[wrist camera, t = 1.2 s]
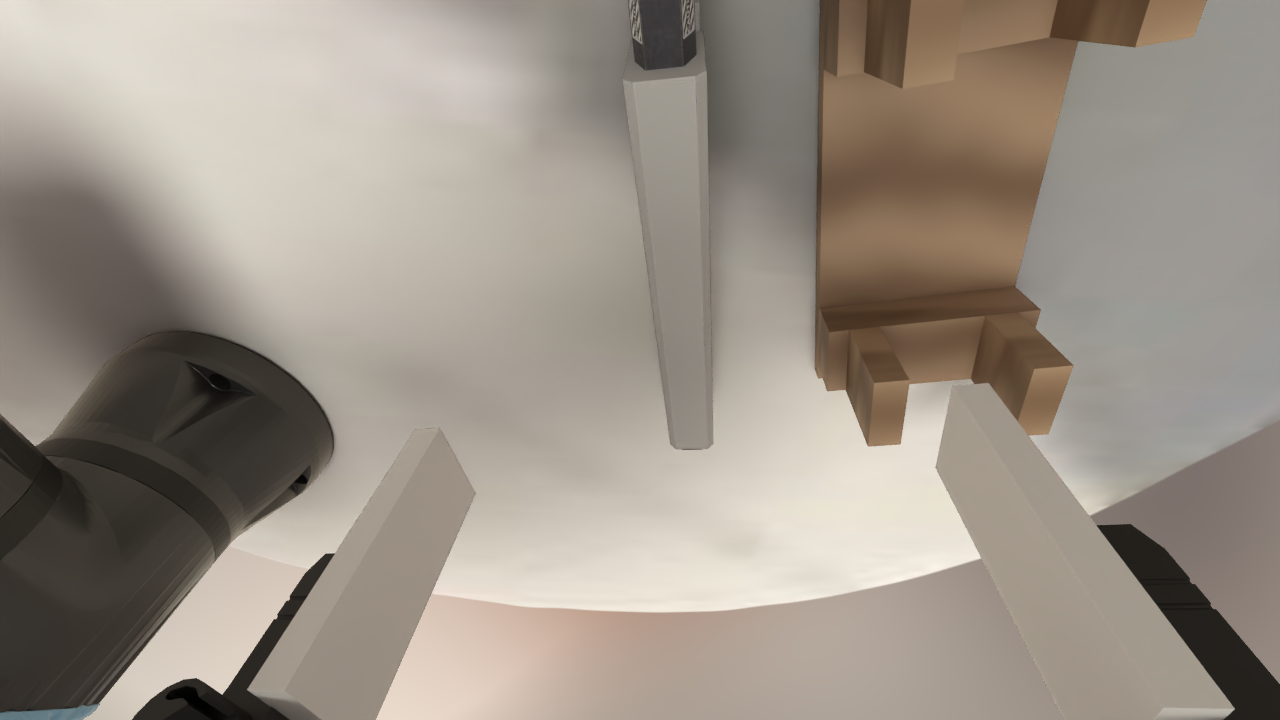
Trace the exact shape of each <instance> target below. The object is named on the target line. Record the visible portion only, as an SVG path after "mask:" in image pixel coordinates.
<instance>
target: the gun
mask: <svg viewBox="0 0 1280 720" xmlns="http://www.w3.org/2000/svg"><path fill="white" fill-rule="evenodd" d="M628 6H629V15H630V24H631V33H632V40H631V43H630V47H629V52H628V57H627V62H626V67H625V72H624V76H623V87H624V95H625V102H626V110H627V118H628V125H629V133H630V140H631V148H632V156H633V163H634V171H635V179H636V186H637V194H638V201H639V209H640V217H641V224H642V232H643V240H644V247H645V255H646V262H647V270H648V278H649V285H650V293H651V300H652V308H653V316H654V323H655V331H656V339H657V346H658V354H659V361H660V369H661V377H662V384H663V392H664V400H665V407H666V415H667V422H668V430H669V438H670V444H671V445H672V446H673V447H674V448H675V449H682V450H702V449H708V448H709V447H710V446H711V445H712V444H713V405H712V347H711V289H710V230H709V172H708V114H707V69H706V56H705V44H704V33H703V32H700V8H699V0H628Z"/></svg>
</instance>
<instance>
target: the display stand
mask: <svg viewBox="0 0 1280 720" xmlns="http://www.w3.org/2000/svg"><path fill="white" fill-rule="evenodd" d="M1206 2H1207V0H820V38H819V112H818V186H817V260H816V333H815V370H816V373H817V376H818V378H823V380H824V383H825V386H826V389H827V391H836V390H846V392H847V394H848V397H849V399H850V402H851V404H852V407H853V409H854V412H855V415H856V417H857V420H858V422H859V425H860V427H861V430H862V432H863V435H864V437H865V440H866V443H867V445H868V446H882V445H897V444H901V437H902V430H903V423H904V416H905V409H906V402H907V395H908V389H909V384H916V383H927V382H939V381H950V380H962V379H971V380H972V381H973V382H974V384H982V383H989V384H990V386H991V387H992V388H993V390H994V391H995V392H996V393H997V395H998V396H999V397H1000V399H1001V400H1002V401H1003V403H1004V404H1005V405H1006V407H1007V408H1008V409H1009V411H1010V412H1011V413H1012V415H1013V416H1014V417H1015V419H1016V420H1017V421H1018V423H1019V424H1020V425H1021V427H1022V428H1023V429H1024V431H1025V432H1026V433H1027V434H1028V435H1043V434H1049V431H1050V429H1051V426H1052V423H1053V420H1054V418H1055V415H1056V412H1057V409H1058V407H1059V404H1060V401H1061V398H1062V396H1063V393H1064V390H1065V388H1066V385H1067V382H1068V379H1069V377H1070V374H1071V371H1072V368H1073V366H1074V365H1073V364H1072V363H1070V362H1069V361H1068V360H1067V359H1066V358H1065V357H1064V356H1063V355H1062V354H1061V353H1060V352H1059V351H1058V350H1057V349H1056V348H1055V347H1054V346H1053V345H1052V344H1051V343H1050V342H1049V341H1048V340H1047V339H1046V338H1045V337H1044V336H1043V335H1041V334H1040V333H1039V332H1038V331H1037V330H1036V329H1035V328H1036V324H1037V321H1038V318H1039V314H1040V311H1041V310H1040V309H1039V308H1038V307H1037V306H1036V305H1035V304H1034V303H1033V302H1032V301H1030V300H1029V299H1028V298H1027V297H1026V296H1025V295H1024V294H1023V293H1022V292H1020V291H1019V290H1018V289H1017V288H1016V287H1015V284H1016V280H1017V276H1018V272H1019V268H1020V264H1021V260H1022V256H1023V253H1024V249H1025V245H1026V241H1027V237H1028V233H1029V229H1030V225H1031V222H1032V218H1033V214H1034V210H1035V206H1036V202H1037V198H1038V194H1039V190H1040V187H1041V183H1042V179H1043V175H1044V171H1045V167H1046V163H1047V159H1048V156H1049V152H1050V148H1051V144H1052V140H1053V136H1054V132H1055V128H1056V125H1057V121H1058V117H1059V113H1060V109H1061V105H1062V101H1063V97H1064V93H1065V90H1066V86H1067V82H1068V78H1069V74H1070V70H1071V66H1072V62H1073V59H1074V55H1075V51H1076V47H1077V43H1078V41H1085V42H1094V43H1102V44H1111V45H1120V46H1128V47H1139V46H1145V45H1151V44H1156V43H1162V42H1167V41H1173V40H1178V39H1184V38H1190V37H1194V35H1195V32H1196V29H1197V26H1198V24H1199V21H1200V18H1201V16H1202V13H1203V10H1204V7H1205V5H1206Z"/></svg>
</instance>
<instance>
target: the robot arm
mask: <svg viewBox="0 0 1280 720" xmlns="http://www.w3.org/2000/svg"><path fill="white" fill-rule="evenodd" d="M332 449H333V440H332V434H331V431H330V428H329V425H328V423H327V420H326V418H325V417H324V415H323V413H322V411H321V410H320V408H319V407H318V405H317V404H316V403H315V401H314V400H313V399H312V398H311V397H310V395H309V394H308V393H307V392H306V391H305V390H304V389H303V388H302V387H301V386H300V385H299V384H298V383H297V382H295V381H294V380H293V379H292V378H291V377H290V376H288V375H287V374H286V373H285V372H283V371H282V370H280V369H279V368H278V367H276V366H275V365H273V364H272V363H270V362H268V361H267V360H265V359H264V358H262V357H260V356H258V355H256V354H255V353H253V352H251V351H249V350H246V349H244V348H242V347H240V346H238V345H235V344H233V343H230V342H227V341H224V340H221V339H218V338H215V337H211V336H207V335H202V334H197V333H190V332H163V333H157V334H153V335H150V336H147V337H145V338H143V339H141V340H139V341H138V342H136V343H135V344H133V345H131V346H130V347H128V348H127V349H125V350H123V351H122V352H120V353H119V354H117V355H116V356H114V357H113V358H112V359H110V360H109V361H108V362H107V363H106V364H105V365H104V366H103V368H102V369H101V370H100V371H99V373H98V374H97V375H96V377H95V378H94V379H93V381H92V382H91V383H90V385H89V386H88V387H87V389H86V390H85V391H84V393H83V394H82V395H81V397H80V398H79V399H78V401H77V402H76V403H75V405H74V406H73V407H72V409H71V410H70V411H69V412H68V414H67V415H66V416H65V418H64V419H63V420H62V422H61V423H60V424H59V426H58V427H57V428H56V430H55V431H54V432H53V434H52V435H51V436H49V437H48V438H47V439H46V440H44V441H43V442H41V443H40V444H39V445H37V446H36V447H35V446H34V445H33V444H32V443H31V442H30V441H29V440H27V439H26V438H25V437H24V436H23V435H22V434H21V433H20V432H19V431H18V430H17V429H16V428H15V427H14V426H12V425H11V424H10V423H9V422H8V421H7V420H6V419H5V418H4V417H3V416H2V415H1V414H0V720H83V719H84V718H85V717H87V716H89V715H91V714H92V713H93V712H94V711H95V710H96V709H97V707H98V706H99V705H100V704H99V703H100V701H101V700H102V699H103V698H104V697H105V695H106V694H107V693H108V692H109V690H110V689H111V688H112V687H113V686H114V684H115V683H116V682H117V680H118V679H119V678H120V677H121V676H122V674H123V673H124V672H125V671H126V670H127V668H128V667H129V666H130V665H131V664H132V662H133V661H134V660H135V659H136V657H137V656H138V655H139V654H140V652H141V651H142V650H143V649H144V648H145V647H146V645H147V644H148V643H149V642H150V640H151V639H152V638H153V637H154V636H155V634H156V633H157V632H158V630H159V629H160V628H161V627H162V626H163V624H164V623H165V622H166V621H167V620H168V618H169V617H170V616H171V615H172V614H173V612H174V611H175V610H176V609H177V607H178V606H179V605H180V604H181V603H182V601H183V600H184V599H185V598H186V596H187V595H188V594H189V593H190V592H191V590H192V589H193V588H194V587H195V585H196V584H197V583H198V582H199V581H200V579H201V578H202V577H203V576H204V574H205V573H206V572H207V571H208V570H209V568H210V567H211V566H212V564H213V563H214V562H215V561H216V560H217V558H218V557H219V556H220V555H221V553H222V552H223V551H224V550H225V549H226V548H227V547H228V546H229V544H230V543H231V542H232V541H233V540H234V539H235V538H236V537H237V536H239V535H240V534H242V533H243V532H245V531H246V530H248V529H249V528H251V527H252V526H253V525H255V524H256V523H258V522H259V521H261V520H262V519H264V518H265V517H267V516H268V515H270V514H271V513H273V512H274V511H276V510H277V509H278V508H280V507H281V506H283V505H284V504H286V503H287V502H289V501H290V500H292V499H293V498H295V497H296V496H298V495H299V494H300V493H302V492H303V491H305V490H306V489H307V488H308V487H309V486H310V485H311V484H312V483H313V481H314V480H315V479H316V478H317V476H318V475H319V474H320V472H321V471H322V470H323V469H324V467H325V466H326V465H327V463H328V462H329V460H330V458H331V454H332ZM936 469H937V471H938V473H939V475H940V477H941V479H942V481H943V483H944V485H945V487H946V489H947V491H948V493H949V495H950V497H951V499H952V501H953V503H954V505H955V507H956V509H957V511H958V513H959V515H960V517H961V519H962V521H963V523H964V525H965V527H966V528H967V530H968V532H969V534H970V536H971V538H972V540H973V542H974V544H975V546H976V548H977V550H978V552H979V554H980V556H981V558H982V560H983V562H984V564H985V566H986V568H987V570H988V572H989V574H990V575H991V578H992V580H993V582H994V584H995V586H996V587H997V589H998V591H999V593H1000V595H1001V597H1002V599H1003V601H1004V603H1005V605H1006V607H1007V609H1008V611H1009V613H1010V615H1011V617H1012V619H1013V621H1014V623H1015V625H1016V627H1017V629H1018V631H1019V633H1020V635H1021V637H1022V638H1023V640H1024V643H1025V645H1026V647H1027V648H1028V650H1029V652H1030V654H1031V656H1032V658H1033V660H1034V662H1035V664H1036V666H1037V668H1038V670H1039V672H1040V674H1041V676H1042V678H1043V680H1044V682H1045V684H1046V686H1047V688H1048V690H1049V692H1050V694H1051V696H1052V697H1053V700H1054V702H1055V703H1056V706H1057V708H1058V709H1059V711H1060V713H1061V715H1062V717H1063V719H1064V720H1280V684H1279V683H1278V682H1277V681H1276V679H1274V677H1273V676H1272V675H1271V674H1270V672H1269V671H1268V670H1267V669H1266V668H1265V666H1264V665H1263V664H1262V663H1261V662H1260V660H1259V659H1258V658H1257V657H1256V656H1255V655H1254V653H1253V652H1252V651H1251V650H1250V649H1249V648H1248V646H1247V645H1246V644H1245V643H1244V642H1243V640H1242V639H1241V638H1240V637H1239V636H1238V635H1237V633H1236V632H1235V631H1234V630H1233V629H1232V627H1231V626H1230V625H1229V624H1228V623H1227V622H1226V620H1225V619H1224V618H1223V617H1222V616H1221V615H1220V613H1219V612H1218V611H1217V610H1216V609H1213V608H1212V607H1211V605H1210V604H1211V603H1210V602H1209V600H1208V599H1207V598H1206V597H1205V596H1204V594H1203V593H1202V592H1201V591H1200V590H1199V589H1198V587H1197V586H1196V585H1195V584H1192V583H1191V582H1190V578H1189V577H1188V576H1187V574H1186V573H1185V572H1184V571H1183V570H1182V568H1181V567H1180V566H1179V565H1178V564H1177V563H1176V562H1175V560H1174V559H1173V558H1172V557H1171V556H1170V555H1169V553H1168V552H1167V551H1166V550H1165V549H1164V548H1163V547H1161V546H1160V545H1159V544H1157V543H1156V542H1155V541H1153V540H1152V539H1150V538H1149V537H1148V536H1146V535H1145V534H1143V533H1142V532H1141V531H1139V530H1138V529H1136V528H1135V527H1134V526H1132V525H1131V524H1126V525H1125V524H1123V525H1096V524H1095V523H1094V522H1093V520H1092V519H1091V518H1090V516H1089V515H1088V514H1087V513H1086V511H1085V510H1084V509H1083V507H1082V506H1081V505H1080V503H1079V502H1078V501H1077V499H1076V498H1075V497H1074V495H1073V494H1072V493H1071V491H1070V490H1069V489H1068V487H1067V486H1066V485H1065V483H1064V482H1063V481H1062V479H1061V478H1060V477H1059V475H1058V474H1057V473H1056V472H1055V470H1054V469H1053V468H1052V466H1051V465H1050V464H1049V462H1048V461H1047V460H1046V458H1045V457H1044V456H1043V454H1042V453H1041V452H1040V450H1039V449H1038V448H1037V446H1036V445H1035V444H1034V442H1033V441H1032V440H1031V438H1030V437H1029V436H1028V434H1027V433H1026V432H1025V431H1024V429H1023V428H1022V427H1021V425H1020V424H1019V423H1018V421H1017V420H1016V419H1015V417H1014V416H1013V415H1012V413H1011V412H1010V411H1009V409H1008V408H1007V407H1006V405H1005V404H1004V403H1003V401H1002V400H1001V399H1000V397H999V396H998V395H997V393H996V392H995V391H994V390H993V388H992V387H991V386H990V384H989V383H982V384H970V385H957V386H952V390H951V395H950V400H949V405H948V410H947V415H946V420H945V424H944V429H943V434H942V439H941V444H940V449H939V454H938V459H937V463H936ZM475 494H476V493H475V491H474V489H473V487H472V486H471V484H470V482H469V480H468V478H467V476H466V475H465V473H464V471H463V469H462V467H461V465H460V464H459V462H458V460H457V458H456V456H455V454H454V452H453V451H452V449H451V447H450V445H449V443H448V441H447V440H446V438H445V436H444V434H443V432H442V430H441V428H428V429H416V430H415V431H414V432H413V434H412V435H411V437H410V438H409V440H408V441H407V443H406V445H405V446H404V448H403V449H402V451H401V452H400V454H399V455H398V457H397V459H396V460H395V462H394V463H393V465H392V466H391V468H390V469H389V471H388V472H387V474H386V476H385V477H384V479H383V480H382V482H381V483H380V485H379V486H378V488H377V489H376V491H375V493H374V494H373V496H372V497H371V499H370V500H369V502H368V503H367V505H366V506H365V508H364V510H363V511H362V513H361V514H360V516H359V517H358V519H357V520H356V522H355V523H354V525H353V527H352V528H351V530H350V531H349V533H348V534H347V536H346V537H345V539H344V541H343V542H342V544H341V545H340V547H339V548H338V550H337V551H336V553H334V554H325V555H324V556H323V557H322V558H321V559H320V560H319V561H318V562H317V563H316V564H315V565H314V566H312V567H311V568H310V569H309V570H308V571H307V572H306V573H305V575H304V576H303V577H302V579H301V580H300V582H299V584H298V585H297V586H296V588H295V589H294V591H293V592H292V594H291V595H290V600H289V601H286V603H285V604H284V606H283V607H282V609H281V610H280V611H279V613H278V614H277V615H278V617H277V619H274V620H273V622H272V623H271V625H270V626H269V628H268V629H267V631H266V632H265V634H264V635H263V637H262V638H261V639H260V641H259V642H258V644H257V646H256V647H255V648H254V650H253V651H252V653H251V654H250V656H249V657H248V659H247V660H246V662H245V663H244V665H243V666H242V668H241V669H240V671H239V672H238V674H237V675H236V676H235V678H234V680H233V681H232V683H231V684H230V685H229V687H228V688H227V689H226V691H225V692H224V693H223V695H221V694H220V693H218V692H217V691H216V690H214V689H213V688H211V687H210V686H208V685H207V684H206V683H204V682H202V681H200V680H199V679H197V678H195V679H187V680H182V681H180V682H178V683H175V684H173V685H171V686H169V687H167V688H166V689H164V690H163V691H162V692H160V693H159V694H157V695H156V696H155V697H153V698H152V699H151V700H150V701H149V702H148V703H147V704H146V705H145V706H144V707H143V708H142V709H141V710H140V711H139V712H138V713H137V714H136V715H135V716H134V718H133V719H132V720H376V718H377V715H378V713H379V711H380V709H381V706H382V704H383V702H384V700H385V697H386V695H387V693H388V691H389V688H390V686H391V684H392V682H393V679H394V677H395V675H396V672H397V670H398V668H399V666H400V663H401V661H402V659H403V657H404V654H405V652H406V650H407V648H408V645H409V643H410V640H411V639H412V636H413V634H414V632H415V629H416V627H417V625H418V623H419V620H420V618H421V616H422V613H423V611H424V609H425V607H426V605H427V602H428V600H429V598H430V596H431V593H432V591H433V589H434V586H435V584H436V582H437V580H438V577H439V575H440V573H441V571H442V568H443V566H444V564H445V562H446V559H447V557H448V555H449V553H450V550H451V548H452V546H453V543H454V541H455V539H456V537H457V534H458V532H459V530H460V528H461V525H462V523H463V521H464V519H465V516H466V514H467V512H468V510H469V507H470V505H471V503H472V500H473V498H474V496H475Z"/></svg>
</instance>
